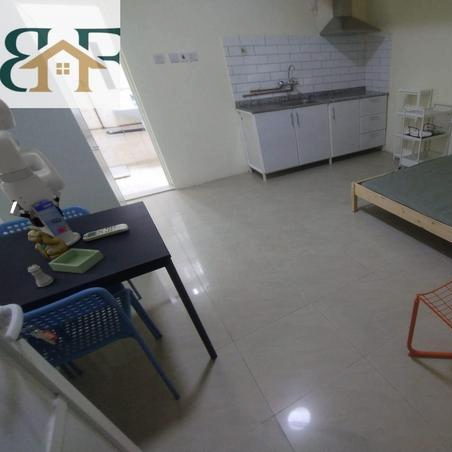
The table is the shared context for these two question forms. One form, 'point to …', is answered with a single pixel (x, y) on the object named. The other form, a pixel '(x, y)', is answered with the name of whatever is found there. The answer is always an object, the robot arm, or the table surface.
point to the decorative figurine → (47, 243)
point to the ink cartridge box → (50, 218)
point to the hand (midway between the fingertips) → (50, 221)
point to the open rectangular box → (76, 260)
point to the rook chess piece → (40, 276)
